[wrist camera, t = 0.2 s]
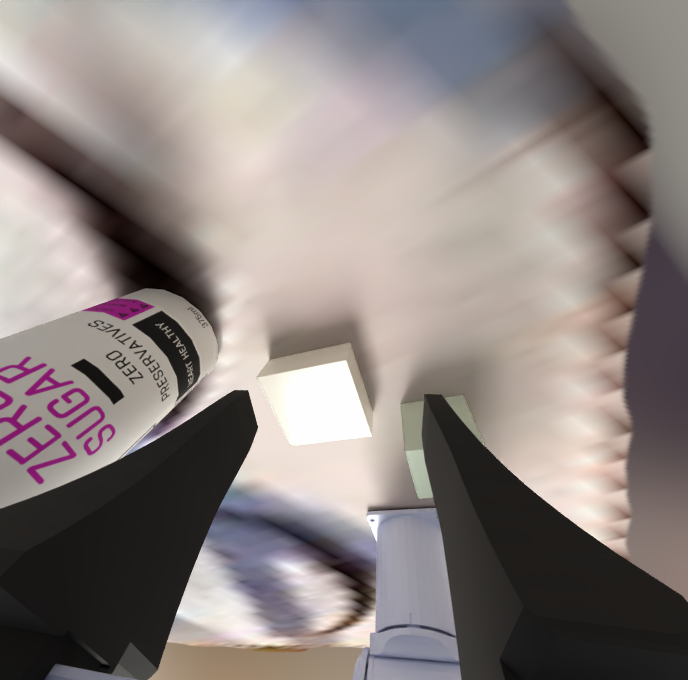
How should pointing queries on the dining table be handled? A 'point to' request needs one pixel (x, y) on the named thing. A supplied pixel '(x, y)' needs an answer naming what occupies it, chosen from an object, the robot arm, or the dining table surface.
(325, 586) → the dining table surface
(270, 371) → the cream box
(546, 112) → the dining table surface
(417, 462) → the green cube
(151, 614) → the robot arm
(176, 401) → the supplement can
